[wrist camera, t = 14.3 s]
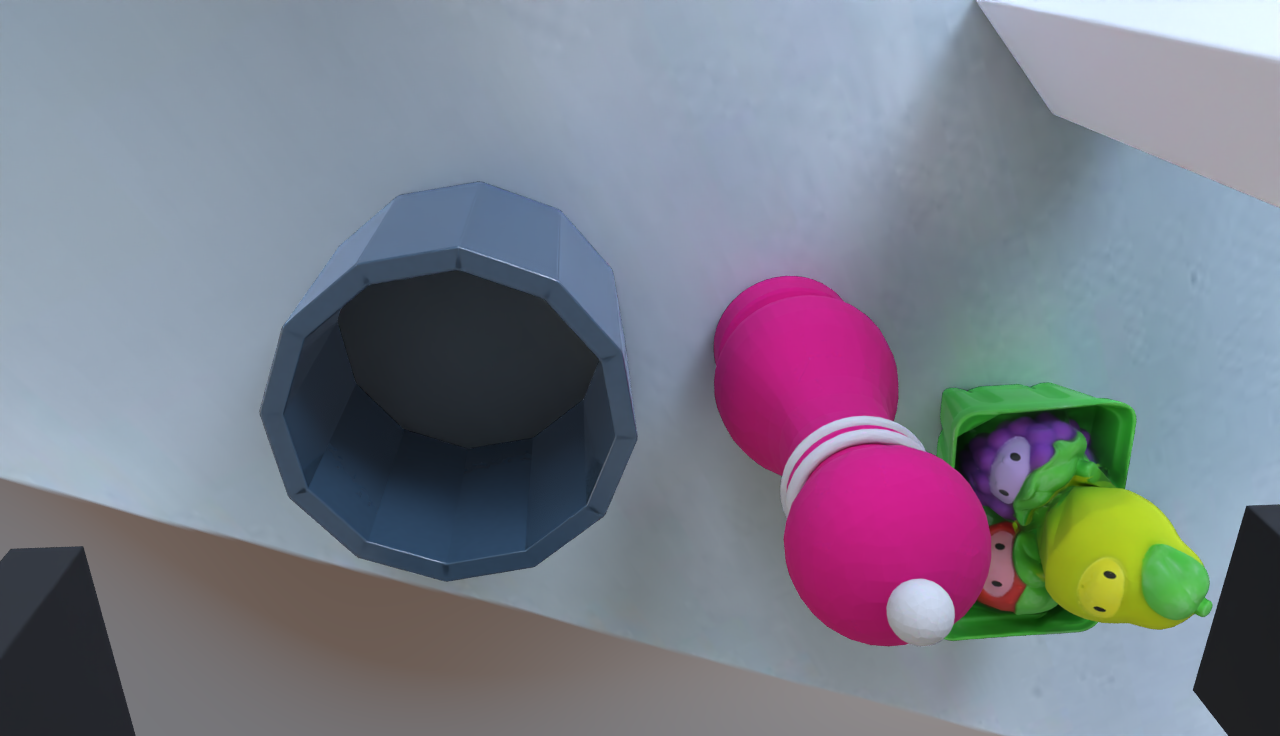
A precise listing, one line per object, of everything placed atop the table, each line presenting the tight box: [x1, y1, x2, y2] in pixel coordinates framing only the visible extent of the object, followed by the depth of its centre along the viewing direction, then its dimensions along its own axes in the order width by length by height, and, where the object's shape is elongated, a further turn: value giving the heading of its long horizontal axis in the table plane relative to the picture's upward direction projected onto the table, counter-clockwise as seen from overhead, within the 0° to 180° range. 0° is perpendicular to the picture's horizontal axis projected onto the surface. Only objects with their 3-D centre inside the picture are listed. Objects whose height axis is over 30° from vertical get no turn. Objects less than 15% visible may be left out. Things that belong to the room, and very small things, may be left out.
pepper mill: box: [714, 276, 991, 647], centre depth 36 cm, size 7×7×20 cm
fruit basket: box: [936, 383, 1213, 641], centre depth 43 cm, size 11×9×11 cm
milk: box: [976, 0, 1280, 208], centre depth 30 cm, size 6×6×22 cm
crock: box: [259, 181, 638, 582], centre depth 40 cm, size 13×13×9 cm
